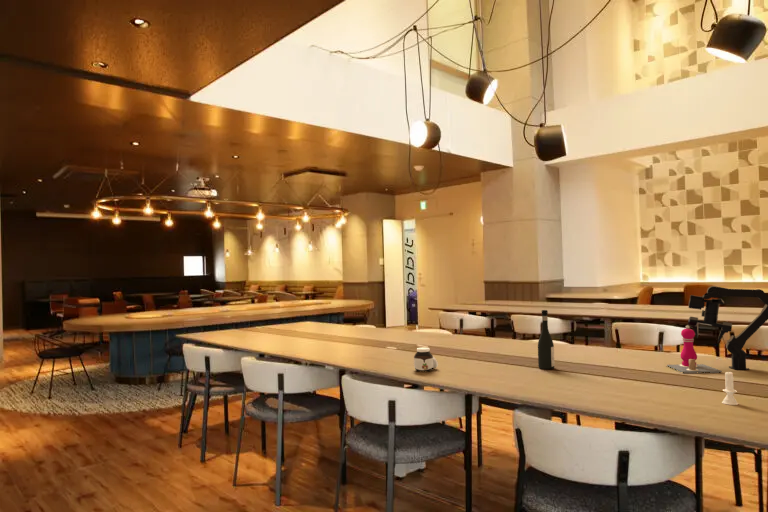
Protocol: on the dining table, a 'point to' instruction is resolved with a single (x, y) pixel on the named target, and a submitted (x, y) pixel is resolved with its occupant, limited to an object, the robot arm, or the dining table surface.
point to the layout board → (700, 367)
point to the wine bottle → (545, 345)
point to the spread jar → (424, 360)
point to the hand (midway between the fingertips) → (707, 339)
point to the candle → (729, 389)
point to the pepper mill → (688, 346)
